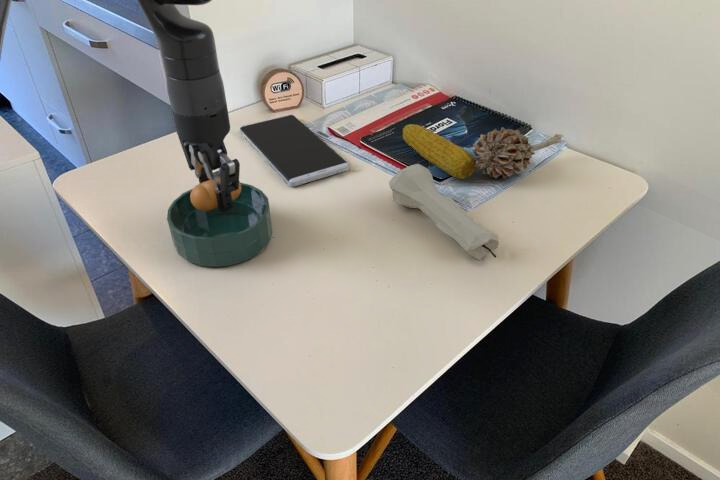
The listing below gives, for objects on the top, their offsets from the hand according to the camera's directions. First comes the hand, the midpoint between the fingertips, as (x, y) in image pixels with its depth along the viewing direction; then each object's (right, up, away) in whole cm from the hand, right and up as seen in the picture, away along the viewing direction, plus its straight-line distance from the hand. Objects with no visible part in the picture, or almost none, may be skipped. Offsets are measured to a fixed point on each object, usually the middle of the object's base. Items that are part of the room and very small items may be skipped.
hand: (217, 202), depth 84 cm
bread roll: (0, 0, 0) cm, 0 cm away
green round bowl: (0, -6, +4) cm, 7 cm away
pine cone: (+54, +8, +23) cm, 59 cm away
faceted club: (+37, -4, +7) cm, 37 cm away
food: (+38, +10, +25) cm, 47 cm away
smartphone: (+8, +13, +28) cm, 32 cm away
